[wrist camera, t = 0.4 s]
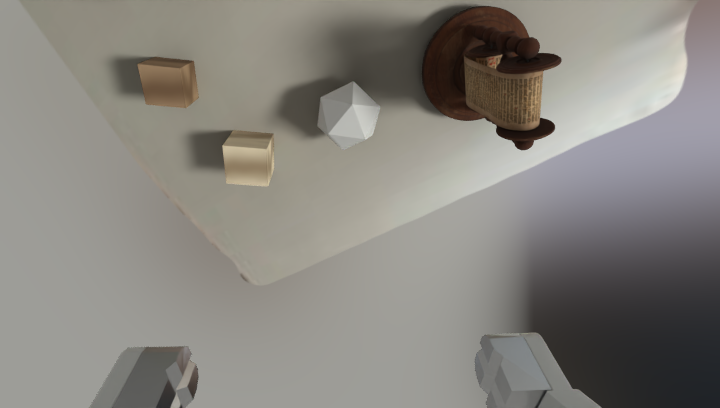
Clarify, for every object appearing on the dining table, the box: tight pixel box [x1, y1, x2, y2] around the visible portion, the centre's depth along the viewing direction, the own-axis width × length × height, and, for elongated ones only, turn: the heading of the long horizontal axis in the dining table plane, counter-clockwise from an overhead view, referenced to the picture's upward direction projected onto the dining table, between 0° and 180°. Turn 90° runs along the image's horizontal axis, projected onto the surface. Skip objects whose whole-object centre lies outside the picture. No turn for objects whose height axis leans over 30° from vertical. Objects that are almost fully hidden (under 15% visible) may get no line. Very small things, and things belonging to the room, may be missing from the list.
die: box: [317, 81, 380, 150], centre depth 49 cm, size 8×9×10 cm
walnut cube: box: [137, 57, 199, 108], centre depth 46 cm, size 5×5×5 cm
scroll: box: [422, 6, 561, 150], centre depth 41 cm, size 15×15×20 cm
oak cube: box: [222, 130, 274, 186], centre depth 52 cm, size 6×6×6 cm
